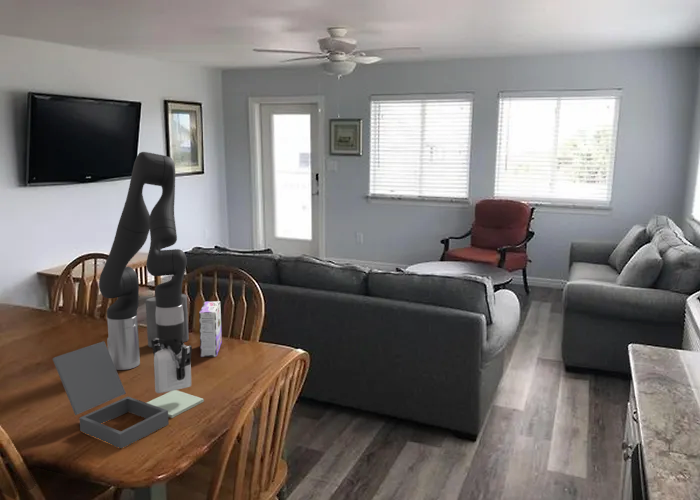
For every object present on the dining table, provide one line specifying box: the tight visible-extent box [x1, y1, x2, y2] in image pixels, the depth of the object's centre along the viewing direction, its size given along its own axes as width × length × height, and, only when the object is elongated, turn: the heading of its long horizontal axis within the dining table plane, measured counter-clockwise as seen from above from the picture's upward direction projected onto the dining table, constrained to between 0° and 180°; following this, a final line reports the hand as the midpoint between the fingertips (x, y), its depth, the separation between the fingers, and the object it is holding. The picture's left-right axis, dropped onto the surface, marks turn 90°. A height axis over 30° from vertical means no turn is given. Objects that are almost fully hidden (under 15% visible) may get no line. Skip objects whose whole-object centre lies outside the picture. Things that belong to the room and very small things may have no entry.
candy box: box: [198, 300, 223, 358], centre depth 209 cm, size 14×6×16 cm, turn 5°
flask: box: [145, 293, 190, 349], centre depth 215 cm, size 15×6×20 cm, turn 125°
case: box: [78, 396, 169, 449], centre depth 153 cm, size 16×15×4 cm
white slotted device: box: [153, 349, 192, 394], centre depth 165 cm, size 10×4×12 cm, turn 124°
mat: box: [146, 389, 205, 419], centre depth 167 cm, size 12×12×1 cm
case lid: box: [52, 340, 126, 416], centre depth 158 cm, size 16×15×2 cm
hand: (172, 376), depth 166 cm, fingers closed on white slotted device, 5 cm apart
